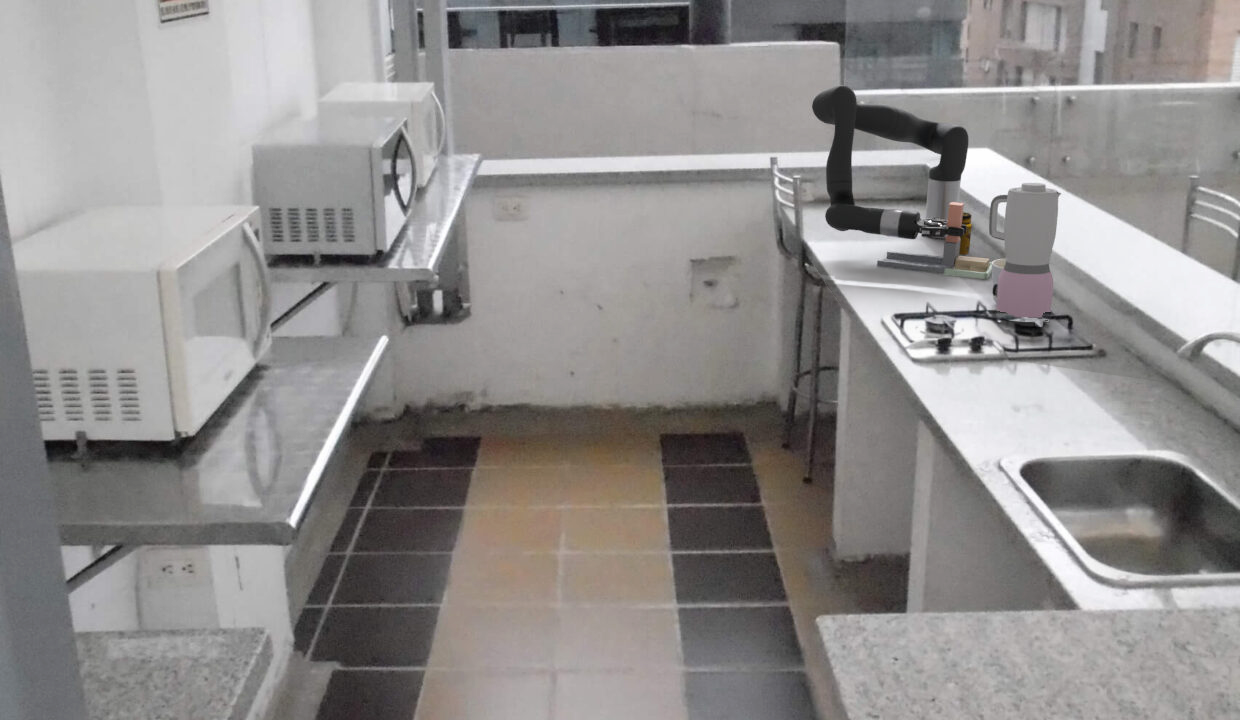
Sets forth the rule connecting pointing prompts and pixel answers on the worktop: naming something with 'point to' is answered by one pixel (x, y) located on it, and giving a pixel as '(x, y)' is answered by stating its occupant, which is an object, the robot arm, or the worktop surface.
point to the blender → (1026, 249)
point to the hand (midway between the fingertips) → (964, 230)
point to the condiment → (966, 234)
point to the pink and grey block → (953, 241)
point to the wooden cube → (963, 263)
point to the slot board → (913, 262)
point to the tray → (969, 272)
